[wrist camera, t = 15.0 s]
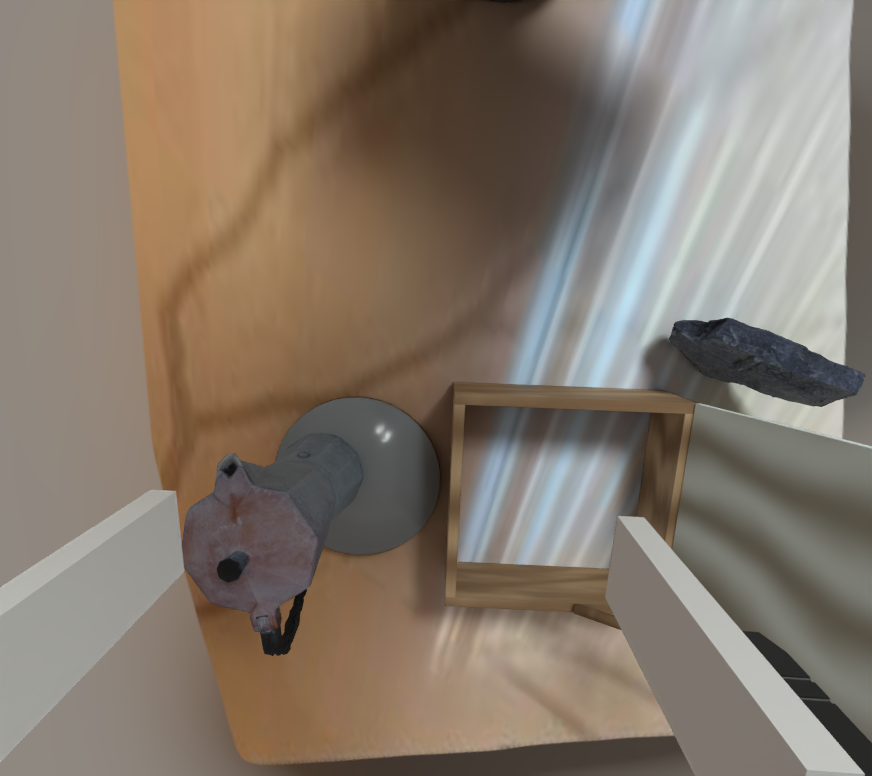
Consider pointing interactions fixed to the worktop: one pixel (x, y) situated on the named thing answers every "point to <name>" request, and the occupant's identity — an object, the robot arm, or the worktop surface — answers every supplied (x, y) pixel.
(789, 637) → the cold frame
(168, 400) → the worktop surface
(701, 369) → the stone
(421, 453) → the disc
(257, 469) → the moka pot
